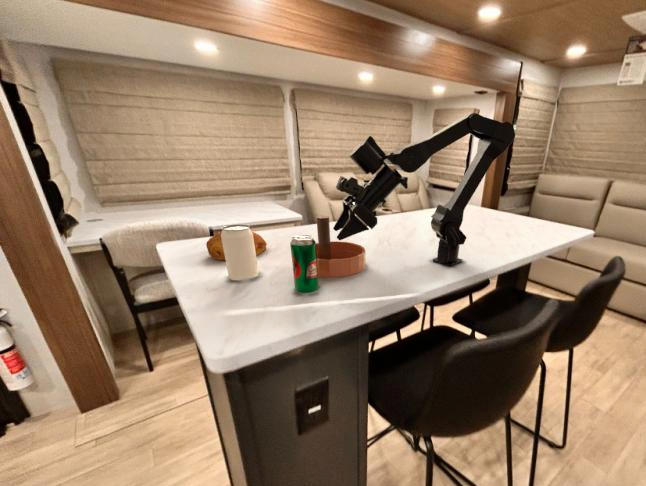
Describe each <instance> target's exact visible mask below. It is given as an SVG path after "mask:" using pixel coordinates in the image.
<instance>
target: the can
mask: <svg viewBox="0 0 646 486" xmlns="http://www.w3.org/2000/svg"><path fill="white" fill-rule="evenodd" d="M221 232H222V233H221V239H222V244H223V250H224V255H225V260H224V261H225V264H226V270H227V274H228V278H229V279H230V280H231V281H233V282H238V281H244V280H249V279H253V278H255V277H257V276H259V274H260V271H259V265H258V259H257V255H256V251H255V245H254V239H253V233H252V232H253V231H252V229H251V228H250V225H248V224H228V225H223V226H222V227H221Z"/></svg>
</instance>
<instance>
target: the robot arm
mask: <svg viewBox="0 0 646 486" xmlns="http://www.w3.org/2000/svg"><path fill="white" fill-rule="evenodd" d="M469 134H470V135H471V136H473V137H474V138H476V139H478V142H477V150H476V153H475V156H474V157H473V159H472V160H471V163H470V164H469V166H468V168H467V169H466V171H465V173H464V174H463V176H462V178H461V180H460V181H459V184H457V186H456V188H455V190H454V192H453V193H452V195H451V197H450V199H449V200H448V202H447V203H445V204H444V205H442V204H440V203H439V204H438V205H437V207H436V208H435V211H434V213H433V214H432V215H430V217H431V221H430V225H431V226H430V227H431V229H432V231H433V232H434V233H435V236H436V238H437V239H439V240H438V245H437V246H438V247H437V256H436V257H434V258H432V262H435V263H439V264H442V265H445V266H449V267H453V266H455V265H457V264H459V263H462V262H463V259H462V258H459V254H460V253H459V252H460V245H461V246H462V245H465V242H466V239H467V235H465V234H464V232H463V231H462V230H461V226H462V224H463V222H464V212H465V210H466V207H467V206H468V204H469V203H470V201H471V199H472V197H473V196H474V194H475V192H476V191H477V190H478V187H479V185H480V184H481V183H482V181H483V179H484V177H485V176H486V174H487V172H488V170H489V169H490V167H491V166H492V164H493V162H494V161H495V160H496V159H497V158H499V157H500V156H501V155H503V154H504V153H505V152H506V151H507V150H508V148H509V147H510V145H511V144H512V143H513V142H514V140H515V137H516V133H515V127H514V125H513V124H512V123H511V122H509V121H499V120H496V119H493V118H490V117H486V116H483V115H481V114H480V113H478V112H470V113H466V114H464V115H463V116H462V117H461V118H459V119H457V120H456V121H454V122H452V123H450V124H449V125H447V126H445V127H444V128H441V129H440V130H438V131H437V132H435V133H433V134H431V135H430V136H428V137H426V138H424V139H422V140H419V141H415V142H412V143H409V144H407V145H403V146H400V147H398V148H397V149H395V150H394V152H388V151H387V152H384V150H383V149H382V148H381V147H380V146H379V145H378V144H377V142H376V140H375V139H374V137H373V136H372V135H368V136H367V137H366V138H365V139H364V140H363V141H362V142H361V143H359V144H358V145H356V146H355V147H354V148H353V150H352V151H351V152H350V154H349V155H348V157H349V158H350V160H351V161H353V163H355V165H356V166H357V167H358V168H359V169H360V170H361V171H362V172H363V173H364V175H368V174H369V173H370V174H371V175H372V176H373V175H374V176H373V177H372V178H371V179H370V180H369V181H368V182H363V183H362V184H359V183H358V182H359V181H358V180H359V179H357V178H355V177H353V176H349V177H348V178H347V177H345V176H343V175H340V176H339V178H338V180H337V183H336V185H335V189H336V190H337V191H340V192H342V193H346V195H345V196H344V197H343V198H342V199H343V200H342V202H341V203H342V211H341V213H340V215H339V217H338V219H337V220H336V222H335V224H334V226H333V227H332V229H333V230H334V231H335V232H337V231H339V232H338V233H337V236H336V239H337V240H338V241H342V240H345V239H347V238H350V237H352V236H355V235H357V234H359V233H362V232H366V231H370V229H371V230H373V229H374V228H375V227H376V226H377V225H378V217H377V216H376V215H375V214H376V213H375V211H376V210H377V209H378V208H379V206H381V205H385V204H386V202H387V200H386V199H387V198H388V197H389V196H390V195H391V194H392V193H393V192H394V191H395V190H396V189H397V188H398V187H399V186H400V187H401V188H403V189H405V190H407V189H408V187H409V185H408V181H409V177H408V176H403V175H402V174H401V173H400V172H403V173H407V174H412V173H414V172H416V171H418V170H419V169H420V168H421V167H423V165H425V164H426V163H427V162H428V161H429V160H430V158H431V157H432V156H434V155H435V154H436V153H439V152H440V151H441V150H444V149H445V148H447V147H448V146H450V145H452V144H453V143H456V142H457V141H459V140H460V139H462V138H464V137H465V136H467V135H469ZM388 164H390V165H393V166H394V168H391V167H390V166H389V165H388ZM399 171H400V172H399Z"/></svg>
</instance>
